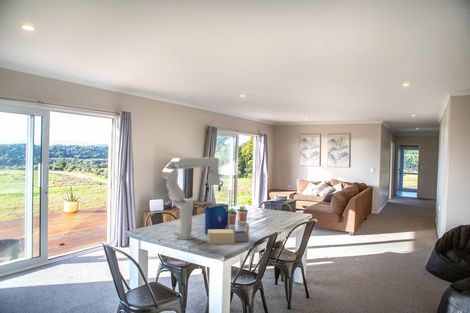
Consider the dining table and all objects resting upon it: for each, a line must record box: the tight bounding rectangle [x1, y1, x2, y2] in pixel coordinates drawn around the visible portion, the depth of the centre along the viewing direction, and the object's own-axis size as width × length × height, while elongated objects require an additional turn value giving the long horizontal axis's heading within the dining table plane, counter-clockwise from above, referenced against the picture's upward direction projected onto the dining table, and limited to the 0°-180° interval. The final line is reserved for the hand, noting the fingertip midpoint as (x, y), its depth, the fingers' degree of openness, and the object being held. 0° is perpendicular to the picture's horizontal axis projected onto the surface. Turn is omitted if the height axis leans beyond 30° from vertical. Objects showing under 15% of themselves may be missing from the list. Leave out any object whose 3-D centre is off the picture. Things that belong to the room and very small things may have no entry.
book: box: [204, 203, 229, 236], centre depth 273 cm, size 22×7×25 cm, turn 126°
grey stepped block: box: [233, 222, 250, 242], centre depth 253 cm, size 20×10×13 cm, turn 103°
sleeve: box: [207, 228, 235, 245], centre depth 250 cm, size 20×12×8 cm, turn 103°
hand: (213, 191), depth 275 cm, fingers open, 9 cm apart
